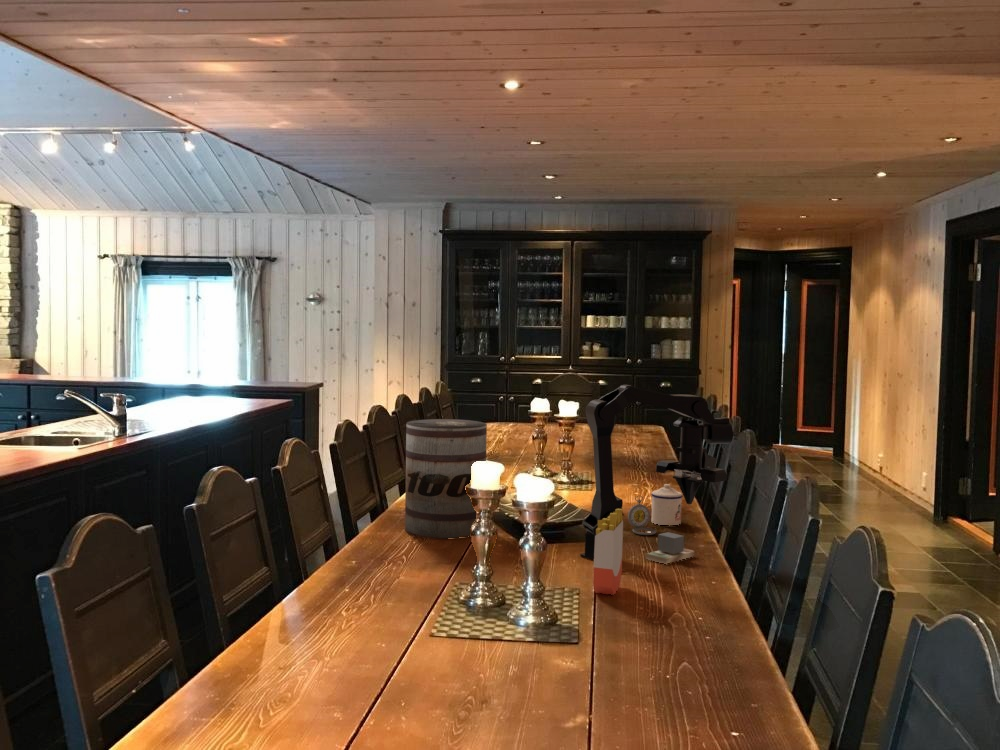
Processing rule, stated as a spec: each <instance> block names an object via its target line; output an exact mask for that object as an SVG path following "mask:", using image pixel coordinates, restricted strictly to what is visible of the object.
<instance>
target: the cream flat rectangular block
mask: <svg viewBox="0 0 1000 750" xmlns="http://www.w3.org/2000/svg"><path fill="white" fill-rule="evenodd" d="M693 556H694V557H695V550H693V549H689V548H685V547H684V550H683V552H680V553H676V554H671V553H667V552H663V551H660V550H654V551H651V552H648V553H645V560H646V559H648V560H647V561H649V560H652V561H651V562H653V561H655V562H654V563H656V562H659V563H658V564H660V563H664V564H666V565H668V564H667V563H670V562H674V563H676V562H675V561H677V562H680V561H679V560H681V561H683V560H682V559H685V560H687V559H686V558H689V559H691V558H690V557H692V558H694V557H693ZM664 564H663V565H664ZM670 564H671V563H670Z"/></svg>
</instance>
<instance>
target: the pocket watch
mask: <svg viewBox="0 0 1000 750" xmlns="http://www.w3.org/2000/svg"><path fill="white" fill-rule="evenodd" d="M638 497H640V498H642V499H640V498H638ZM637 498H638V499H637ZM634 500H635V501H636V502H637V504H635V505H633V506H631V507H630V509H629V511H628V512H627V514H628V515H627V519H628V522H629V524H630V525H631V526H633V528H632V532H633V533H634V534H636V535H639V536H640V535H641V536H653V535H655V534H656V533H657V529H655V528H652V527H644V526H646V525H647V524H648V522H649V520H650V518H651V517H650V516H651V513H650V510H649V508H648V507H647V506H646V505H644V504H641V503H642V501H644V497H643V496H642V495H636V496H635V498H634ZM639 530H645V531H651V533H644V532H637V531H639Z"/></svg>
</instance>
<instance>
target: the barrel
mask: <svg viewBox="0 0 1000 750" xmlns="http://www.w3.org/2000/svg"><path fill="white" fill-rule="evenodd" d="M487 430H488V425H487V423H486V422H484V421H483V422H482V421H478V420H470V419H454V418H449V419H448V418H436V419H435V418H431V419H416V420H409V421H407V422H406V431H405V432H406V433H405V434H406V436H405V439H406V440H405V444H406V445H405V496H404V497H405V499H404V500H405V502H404V506H405V508H404V509H405V511H404V513H405V514H404V522H405V523H404V531H405V532H406V533H407V534H408V533H409V534H408V535H410V534H411V535H410V536H413V535H414V537H417V536H419V537H418V538H421V537H424V538H423V539H428V538H430V539H429V540H449V539H448V538H459V537H468V536H469V537H470V528H471V525H472V523H473V522H474V521H475V519H476V511H475V510H474V508H473V506H472V502H471V499H470V497H469V496H468V495H467V493H466V490H465V486H466V485H467V484H469V483H470V480H471V466H472V464H473V463H474V462H476V461H486V462H487V441H488V440H487V439H488V438H487V437H488V436H487V432H488V431H487ZM470 538H471V537H470Z"/></svg>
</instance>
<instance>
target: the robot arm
mask: <svg viewBox="0 0 1000 750" xmlns="http://www.w3.org/2000/svg"><path fill="white" fill-rule="evenodd" d="M632 402H634V403H640V404H643V405H644V404H645V405H649V406H654V407H660V408H664V409H668V410H670V411H673V412H675V413H677V414H679V415H682V416H684V417H682V416H679V417H678V419H677V420H675V421H674V422H673V423H672V425H673V426H674V427H678V428H679V427H680V444H679V445H680V446H679V447H676V452H679V461H677V460H673V459H672V460H671V459H666V460H658V461H657V463H656V465H655V472H656V473H660V474H666V473H667V472H668V471H670V472H674V475H673V476H672V479H674V480H675V481H676V484H677V485H678V487H679V489H680V491H681V493H682V496H683V498H684V501H685V503H686V504H687V505H692V504H693V502H694V499H695V496H696V495H697V493H698V489H699V488H700V486H701V485H702V484H703V482H710V483H719V482H720V483H721V482H725V481H728V473H727V471H726V470H725V469H724V468H717V467H716V465H717V461H718V458H716V457H714V456H712V455H709V454H708V453H707V451H708V450H707V448H706V447H704V441H705V442H706V443H707V444H708V445H712V444H713V445H715V444H716V445H718V444H719V445H721V444H723V445H725V444H726V445H729V444H731V443H732V441H733V439H734V430H733V426H732V424H731V421H730V417H725V416H724V417H714V415H713V414H712V412H711V411H710V409H709V404H708V402H707V399H706V398H704V397H702V396H700V395H699V396H698V395H693V394H687V393H685V394H680V393H678V394H669V393H663V392H658V391H653V390H649V389H645V388H644V389H643V388H641V387H635V386H633V385H631V384H621V385H620V386H618V387H617V388H616V389H614V390H613V391H610V392H608V393H607V394H605V395H602V396H601V397H600V398H599V399H593V400H591V401H590V402H588V404H587V405H586V406H585V411H584V412H585V416H586V420H587V425H588V427H589V430H590V433H591V435H592V445H593V446H592V447H593V460H594V479H595V480H594V481H595V482H594V483H595V493H594V496H593V499H592V501H591V511H590V513H589V514H588V515H587V516H586V517H585V518H584V519H583V520H582V521H581V522H582V523H581V524H582V526H583V530H586V532H585V534H584V552H582V553H580V554H579V556H580V557H583V558H586V559H590V560H593V561H594V549H595V536H596V529H597V528H598V520H602V519H603V518H607V517H608V516H610V513H613V512H615V509H623V505H624V504H623V503H624V501H623V499H622V498H620V497H619V496H617V495H616V494H615V490H614V488H615V487H614V471H613V470H614V469H613V467H614V466H613V453H612V451H613V449H612V434H613V432H614V428H615V423H616V416H617V415H618V414H619V413H622V412H623V411H624V410H625V409H626V407H627V406H629V404H630V403H632ZM685 417H688V418H692V419H685ZM698 421H699V422H703V423H698ZM623 511H624V510H623ZM623 511H622V517H623V516H625V515H624V512H623ZM602 522H603V521H602Z"/></svg>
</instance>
